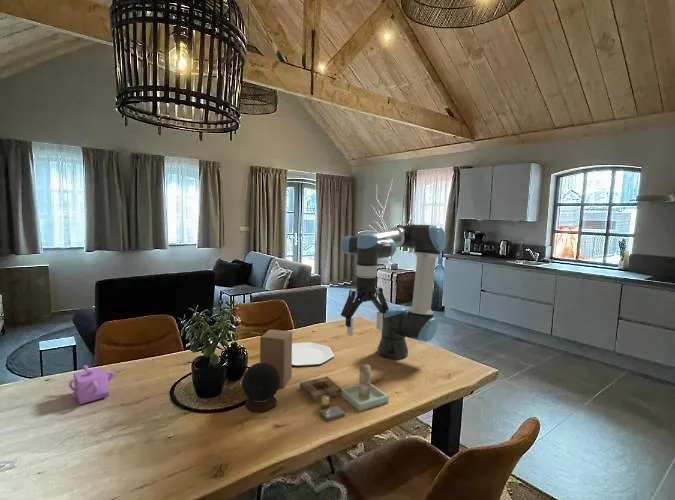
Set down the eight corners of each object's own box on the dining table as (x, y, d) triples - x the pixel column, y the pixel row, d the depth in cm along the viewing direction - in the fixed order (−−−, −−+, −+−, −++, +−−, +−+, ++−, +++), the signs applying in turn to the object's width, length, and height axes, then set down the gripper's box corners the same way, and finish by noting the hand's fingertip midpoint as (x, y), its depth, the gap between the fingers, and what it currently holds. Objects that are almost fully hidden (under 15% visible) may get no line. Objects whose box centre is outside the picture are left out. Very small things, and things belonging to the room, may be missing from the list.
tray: (368, 387, 143) (368, 381, 143) (388, 402, 132) (388, 396, 132) (340, 395, 137) (340, 388, 136) (359, 411, 126) (359, 404, 125)
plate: (343, 353, 179) (343, 350, 179) (309, 373, 156) (309, 369, 156) (299, 341, 193) (299, 339, 193) (263, 358, 170) (263, 355, 170)
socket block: (326, 382, 147) (326, 376, 147) (342, 395, 137) (342, 389, 136) (299, 388, 141) (300, 382, 140) (313, 403, 130) (313, 396, 130)
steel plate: (337, 409, 127) (337, 405, 127) (344, 416, 123) (344, 412, 122) (319, 414, 123) (319, 410, 123) (326, 421, 119) (326, 418, 119)
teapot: (65, 392, 133) (63, 366, 132) (108, 381, 143) (107, 356, 142) (74, 412, 120) (72, 383, 119) (121, 398, 130) (120, 371, 129)
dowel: (365, 393, 137) (366, 363, 136) (371, 398, 134) (372, 367, 132) (356, 396, 135) (357, 365, 134) (362, 400, 132) (363, 369, 130)
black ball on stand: (239, 398, 132) (239, 359, 131) (274, 392, 137) (275, 354, 136) (245, 417, 120) (245, 374, 119) (283, 410, 125) (284, 368, 124)
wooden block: (283, 388, 140) (284, 339, 138) (259, 385, 142) (259, 336, 140) (291, 377, 150) (292, 331, 148) (269, 374, 152) (269, 328, 150)
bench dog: (326, 405, 129) (327, 394, 129) (330, 409, 127) (331, 398, 126) (319, 407, 128) (319, 396, 127) (323, 411, 125) (323, 400, 125)
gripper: (386, 272, 142) (384, 324, 145) (332, 277, 129) (331, 334, 132) (399, 275, 136) (397, 329, 138) (343, 280, 123) (342, 340, 125)
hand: (365, 332), depth 135 cm, fingers open, 13 cm apart
